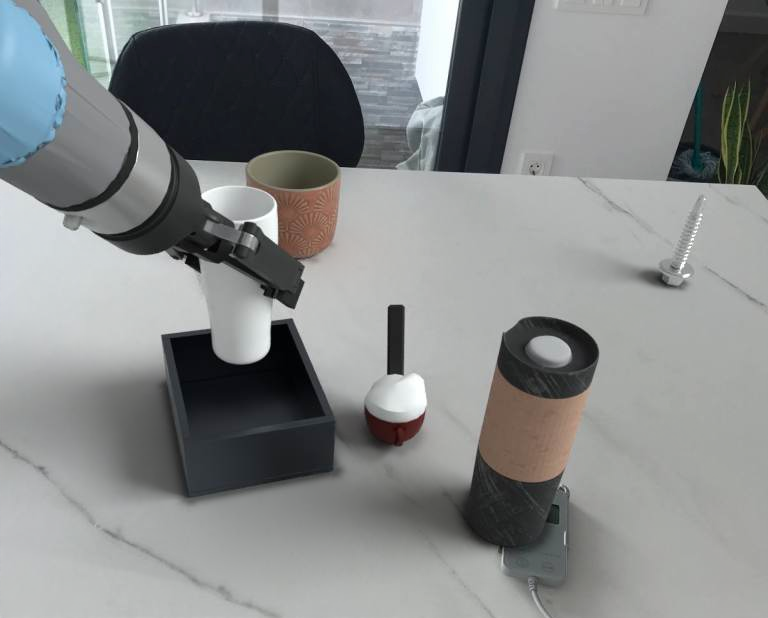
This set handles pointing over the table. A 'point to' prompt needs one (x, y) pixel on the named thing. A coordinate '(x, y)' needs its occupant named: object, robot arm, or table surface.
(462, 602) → the table surface
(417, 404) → the cocoa
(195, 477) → the dark storage bin
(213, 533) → the table surface
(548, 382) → the travel mug
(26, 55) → the robot arm
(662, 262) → the screw
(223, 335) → the white cup
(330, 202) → the planter
